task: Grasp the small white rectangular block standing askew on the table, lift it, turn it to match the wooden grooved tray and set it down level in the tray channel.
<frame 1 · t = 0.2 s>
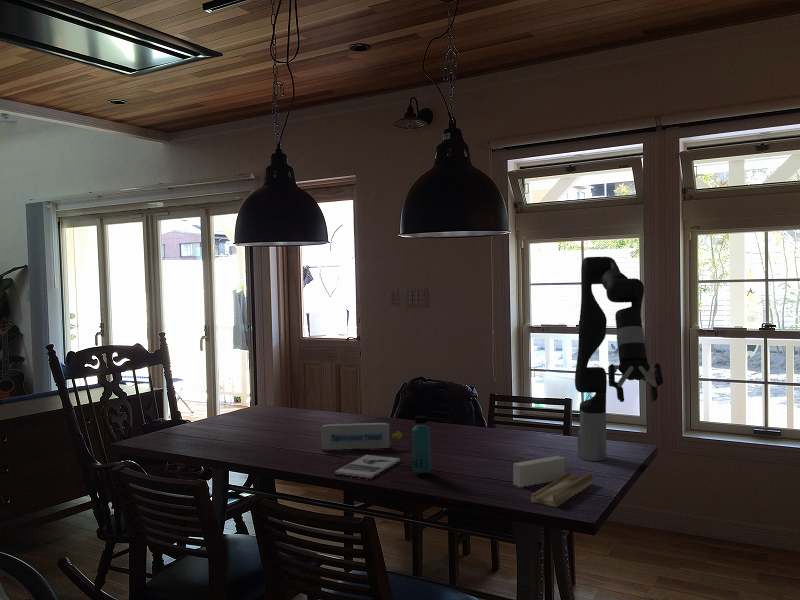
hand: (637, 401, 178), 31 cm above the table, tool tilted 20°, fingers open, 8 cm apart
decorative sign: (362, 450, 255), on the table
white rectangular block: (539, 482, 209), on the table
book: (368, 470, 228), on the table
beverage bottle: (422, 474, 220), on the table
wooden grooved tray: (562, 492, 197), on the table
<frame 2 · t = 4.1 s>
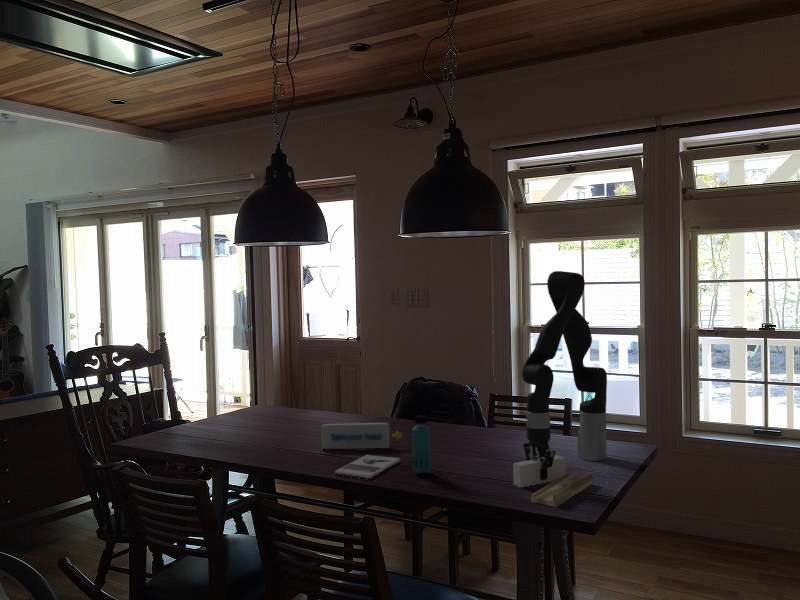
hand: (539, 477, 209), 1 cm above the table, tool pointing down, fingers closed on white rectangular block, 3 cm apart
white rectangular block: (539, 481, 209), on the table, touching gripper
when the fingers open (4 cm above the table, at t = 9.6 s): white rectangular block drops 1 cm, resting on wooden grooved tray.
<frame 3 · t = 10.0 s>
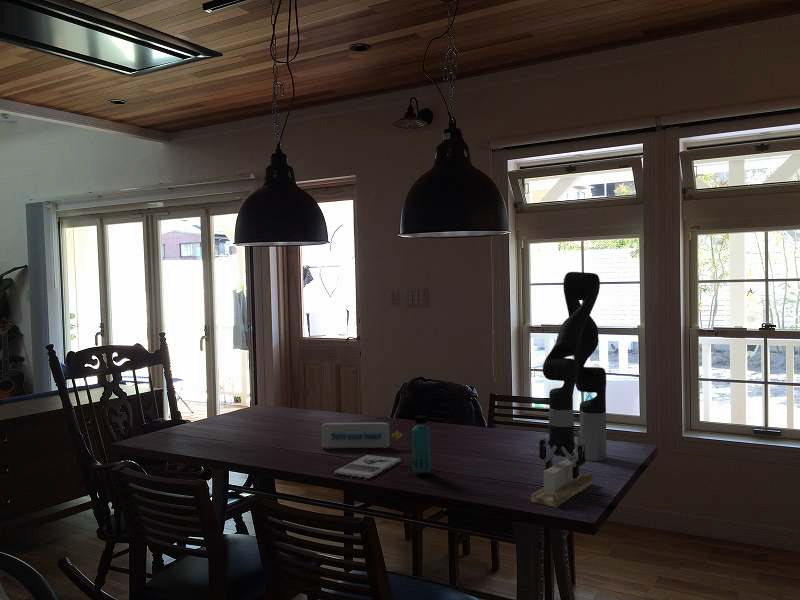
hand: (562, 475, 197), 5 cm above the table, tool pointing down, fingers open, 8 cm apart
white rectangular block: (562, 487, 197), point 1 cm above the table, touching wooden grooved tray
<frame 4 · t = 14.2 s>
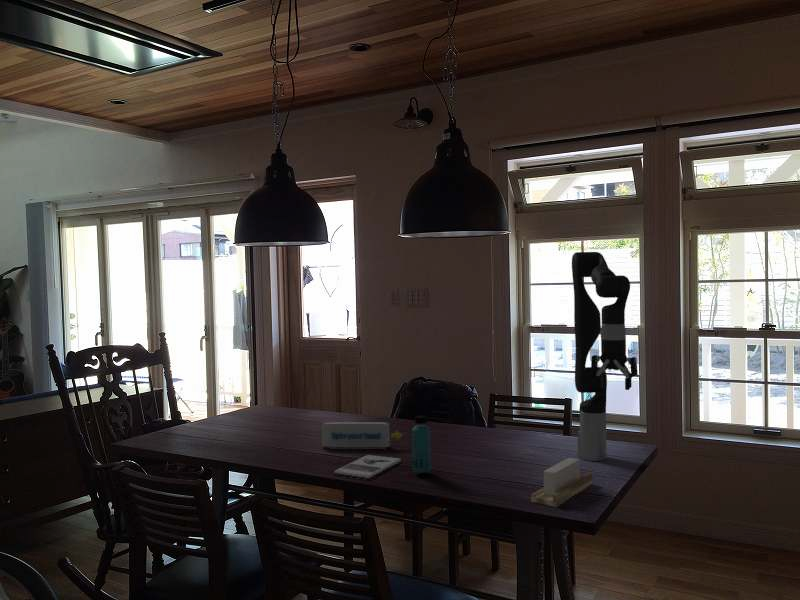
hand: (614, 388, 206), 30 cm above the table, tool pointing down, fingers open, 8 cm apart
at the end: white rectangular block inside the target area on the wooden grooved tray (0.0 cm from its centre), point 1.5 cm above the wooden grooved tray's base; white rectangular block tilted 0°; the gripper is holding nothing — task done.
